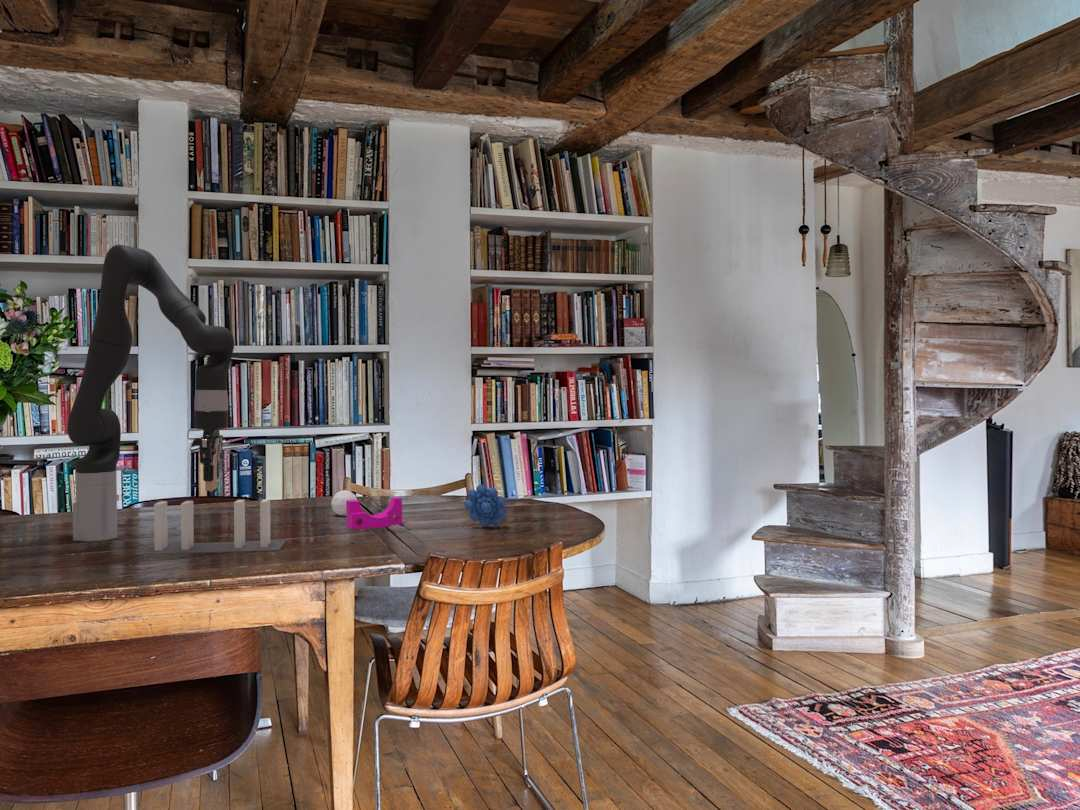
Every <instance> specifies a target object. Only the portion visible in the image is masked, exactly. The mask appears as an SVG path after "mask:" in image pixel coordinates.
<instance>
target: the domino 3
mask: <svg viewBox="0 0 1080 810" xmlns="http://www.w3.org/2000/svg"><path fill="white" fill-rule="evenodd" d="M212 452H213V448H212ZM205 458H209V455H207V456H206V457H205ZM204 484H205V485H204V486H205V487H204V488H205V489H204V491H206V492H208V491H211V492H212V491H214V490H216V489H218V478H217V455H216V456H215V457H214V480H213V481H204Z"/></svg>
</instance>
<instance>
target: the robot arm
mask: <svg viewBox="0 0 1080 810" xmlns="http://www.w3.org/2000/svg"><path fill="white" fill-rule="evenodd" d="M102 266H103V267H102V273H101V282H100V291H99V299H98V305H97V310H96V315H95V320H94V325H93V329H92V333H91V336H90V339H89V345H88V348H87V349H88V350H87V354H86V360H85V363H84V364H85V365H84V367H83V372H82V375H81V381H80V383H79V388H78V391H77V393H76V395H75V396H76V397H75V399H74V401H73V405H72V408H71V410H70V413H69V416H68V419H67V425H66V426H67V428H66V429H67V435H68V438H69V440H70V441H71V442H72V443H73V444H74V445H77V446H88V451H87V452H86V453H85V454H84V456H82V457H80V458H79V459H78V460H77V461H76V462H75V466H74V467H75V468H74V471H75V502H73V503H72V541H73V542H75V541H78V542H99V541H100V542H101V541H107V540H112V539H116V538H117V537H118V497H117V496H118V495H117V493H118V491H117V490H118V489H117V488H118V486H117V484H118V483H117V479H118V478H117V464H118V463H119V460H120V456H121V438H122V437H121V435H122V430H121V421H120V419H119V416H118V414H117V413H116V412H115V411H114V410H112V409H110V408H103V402H104V400H105V396H106V394H107V392H108V391H109V389H110V388H111V387H112V385H113V384H114V382H115V381H116V380H117V379H118V378H119V377H120V375H121V374H122V373H123V371H124V370H125V368H126V366H127V365H128V362H129V357H130V355H131V354H130V353H131V348H132V345H133V339H134V338H133V330H132V328H131V323H130V321H129V318H128V315H127V310H126V306H125V303H126V302H125V301H126V294H127V289H128V285H133V286H140V287H142V288H144V289H146V290H147V291H149V292H150V293H152V295H154V296H155V298H156V300H157V303H158V307H159V309H160V311H161V313H162V315H163V316H164V317H165V318H166V320H168V321H169V322H170V323H171V324H172V325H173V326H174V327H175V328H176V329H177V330H179V332H180V334H181V336H182V338H183V340H184V342H185V343H186V345H187V347H189V348H190V350H192V351H193V352H195V353H196V354H198V355H206V356H208V359H207V362H206V364H203V365H200V366H198V367H197V368H196V370H195V394H194V410H193V411H194V413H193V415H194V419H193V421H194V428H195V430H202V431H203V432H202V436H201V437H200V438H199V440H198V450H199V462H200V464H202V466H203V467H202V472H203V473H202V476H203V477H202V481H204V482H205V481H213V480H214V457H215V456H216V455H217V479H219V478H220V462H221V460H222V458H223V443H224V435H222V434H221V435H220V430H226V429H227V428H228V427H229V397H228V371H229V368H230V365H231V360H232V357H233V354H234V350H235V340H234V335H233V333H232V332H231V330H229V328H227V327H226V326H218V325H210V324H209V325H208V324H206V322H207V321H206V320H207V318H206V315H205V313H204V312H203V311H202V310H201V308H200V307H198V306H197V305H196V304H195V303H194V302H193V301H192V300H191V299H189V297H188V296H187V295H185V294H184V293H183V292H182V290H181V289H180V288H179V287H178V286H177V285H176V284H175V282H174V281H173V280H172V279H171V277H170V276H169V274H168V273H167V272H166V271H165V269H164V268H163V266H162V265H161V263H160V262H159V261H158V260H157V258H156V257H155V256H154V255H153V254H152V253H151V252H149V251H147V250H145V249H143V248H137V247H134V246H128V245H124V244H115V245H113V246H110V248H109V250H108V251H107V252H106V255H105V258H104V260H103V265H102ZM212 448H213V452H212ZM207 455H209V458H205V457H206V456H207Z"/></svg>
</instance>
